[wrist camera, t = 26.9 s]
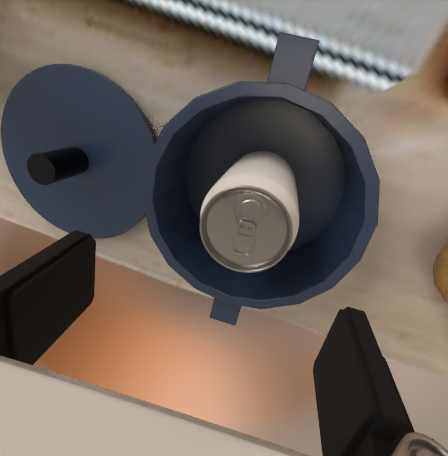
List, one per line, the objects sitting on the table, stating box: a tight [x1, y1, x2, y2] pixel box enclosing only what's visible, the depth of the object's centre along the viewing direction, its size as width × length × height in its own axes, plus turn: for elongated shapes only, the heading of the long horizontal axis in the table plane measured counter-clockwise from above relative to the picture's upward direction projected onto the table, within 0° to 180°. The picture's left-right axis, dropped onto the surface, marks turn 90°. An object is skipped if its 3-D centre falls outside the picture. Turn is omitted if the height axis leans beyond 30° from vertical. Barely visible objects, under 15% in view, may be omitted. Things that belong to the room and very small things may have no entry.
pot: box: [142, 32, 380, 325], centre depth 25 cm, size 17×22×8 cm
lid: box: [1, 64, 155, 239], centre depth 29 cm, size 18×18×6 cm
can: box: [200, 151, 299, 273], centre depth 23 cm, size 6×6×12 cm
